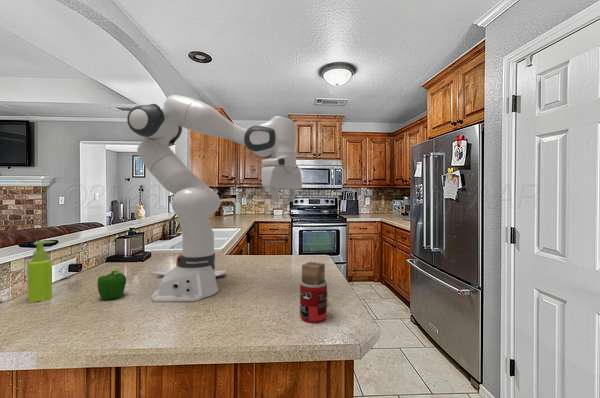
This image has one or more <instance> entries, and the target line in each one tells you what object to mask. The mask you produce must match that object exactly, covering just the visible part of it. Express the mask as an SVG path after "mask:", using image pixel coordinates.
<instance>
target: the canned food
mask: <svg viewBox="0 0 600 398" xmlns="http://www.w3.org/2000/svg"><path fill="white" fill-rule="evenodd" d="M327 285H328V282H327V280H326V279H325V281H323V282H321V283H319V284H318V285H314V284H309V283H304V282H302V279H301V280H300V281H299V317H300V319H301V320H302V321H303V322H306V323H309V324H318V323H319V324H320V323H323V322H325V321H326V319H327V315H328V313H327V312H328V311H327V308H328V306H327V291H328V286H327Z"/></svg>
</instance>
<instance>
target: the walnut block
mask: <svg viewBox="0 0 600 398" xmlns="http://www.w3.org/2000/svg"><path fill="white" fill-rule="evenodd" d="M325 267H326V265H325V263H321V262H315V261H309V262H307V263H303V264H301V280H302V282H304V283H309V284H314V285H318V284H319V283H321V282H323V281H325V280H326V278H325V276H326V274H325V273H326V270H325V269H326V268H325Z"/></svg>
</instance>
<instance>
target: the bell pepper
mask: <svg viewBox="0 0 600 398" xmlns="http://www.w3.org/2000/svg"><path fill="white" fill-rule="evenodd" d="M126 285H127V277H126V275H125V274H124V273H122V272H119V270H118V269H113V270H112V271H111V272H110V273H109V274H106V275H102V276H99V277H98V278H97V291H98V293H99V296H100V298H101V299H102V300H104V301H105V300H106V301H107V300H111V299H112V300H114V299H115V300H116V299H119V298H121V297H122V296H123V295H124V291H125V288H126Z"/></svg>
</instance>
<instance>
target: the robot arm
mask: <svg viewBox="0 0 600 398" xmlns="http://www.w3.org/2000/svg"><path fill="white" fill-rule="evenodd" d="M126 119H127V120H126V121H127V125H128V127H129V129H130V130H131V131H132V132H133V133H135V134H136V135H139V136H140V137H144V138H143V140H142V141H141V142H140V143H139V144H138V147H137V148H136V150H137V151H136V153H137V155H138V156H139V159H140V160H141V162H142V163H143V165H144V166H145V167H146V169H147V170H148V172H150V174H151V175H152V176H153V177H154V178H155V179H156V181H157V182H159V184H160V185H161V186H162V187H163V188H164V189H165V190H166V191H167V192H170V193H171V194H173V197H172V199H171V208H172V211H173V212H174V214H175V215H176V216H177V218H178V221H179V225H180V229H181V235H182V239H181V240H182V242H181V244H182V246H181V247H182V254H181V253H180V254H178V255H177V257H176V260H175V261H176V266H175V267H173V268H172V269H170V270H171V271H170V272H168V273H167V274H166V275H165V276H163V277H162V278H161V279H160V282H159V287H158V289H156V290H155V291H154V292H153V293H152V295H151V301H153V302H157V303H159V302H160V303H162V302H163V303H164V302H165V303H166V302H167V303H168V302H199V301H200V300H202V299H204V298H207V297H210V296H213V295H215V294H216V293H218V292H219V287H218V283H217V277H215V271H216V270H215V269H216V253H215V233H214V231H213V229H212V226H211V222H210V216H212V215H213V214H215V212H217V211H218V209H219V208H220V206H221V198H220V196H219V194H218V193H217V192H215V191H214V190H213V189H211V187H209V186H208V184H206V183H205V182H204V181H203V180H201V179H200V178H199V177H198V176H197V175H196V174H194V172H193V171H191V170H190V169H189V168H188V166H187V165H186V164H184V162H183V161H182V160H181V159H180V158H179V157H178V155H177V154H176V153H175V152H174V151H173V150H172V149H171V148H170V147H172V146H173V145H175V143H176V141H177V140H179V138H180V137H181V134H182V132H183V128H185V129H187V130H190V131H191V132H195V133H198V134H202V135H206V136H212V137H217V138H222V139H226V140H230V141H231V142H234V143H236V144H239V145H241V146H244V147H246V148H247V149H248V150H249V151H250V152H251V153H253V154H255V155H257V156H258V157H259V158H261V159H263V160H261V165H262V169H261V186H262V188H263V189H269V193H270V195H271V198H272V203H279V202H280V200H279V199H280V197H279V196H278V194H277V192H278V190H288V191H289V194H288V195H289V196H287V202H289V203H290V202H291V203H292V202H294V201H295V196H296V193H297V190H301V189H302V187H303V180H302V179H303V177H302V172H301V170H300V168H299V166H298V165H297V151H296V144H297V131H296V130H297V129H296V124H295V121H294V120H292V119H291V118H290V117H287V116H284V115H275V116H273V117H272V118H271V119H270V120H268V121H266V122H264V123H261V124H257V125H252V126H250V127H248V129H246V128H245V127H242V126H239V125H237V124H235V123H234V122H232V121H231V120H229V119H228V118H226V116H224V115H223V114H222V113H220V112H219V111H218V110H217V109H215V108H214V107H213V106H211V105H209V104H207V103H205V102H203V101H202V100H198V99H195V98H192V97H190V96H189V97H188V96H184V95H179V94H172V95H169V96H168V97H166V99H165V101H164V102H163V105H161V106H159V105H158V104H157V103H151V104H144V105H135V106H134V107H132V108H131V109H130V110H129V111H128V113H127V117H126Z"/></svg>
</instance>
